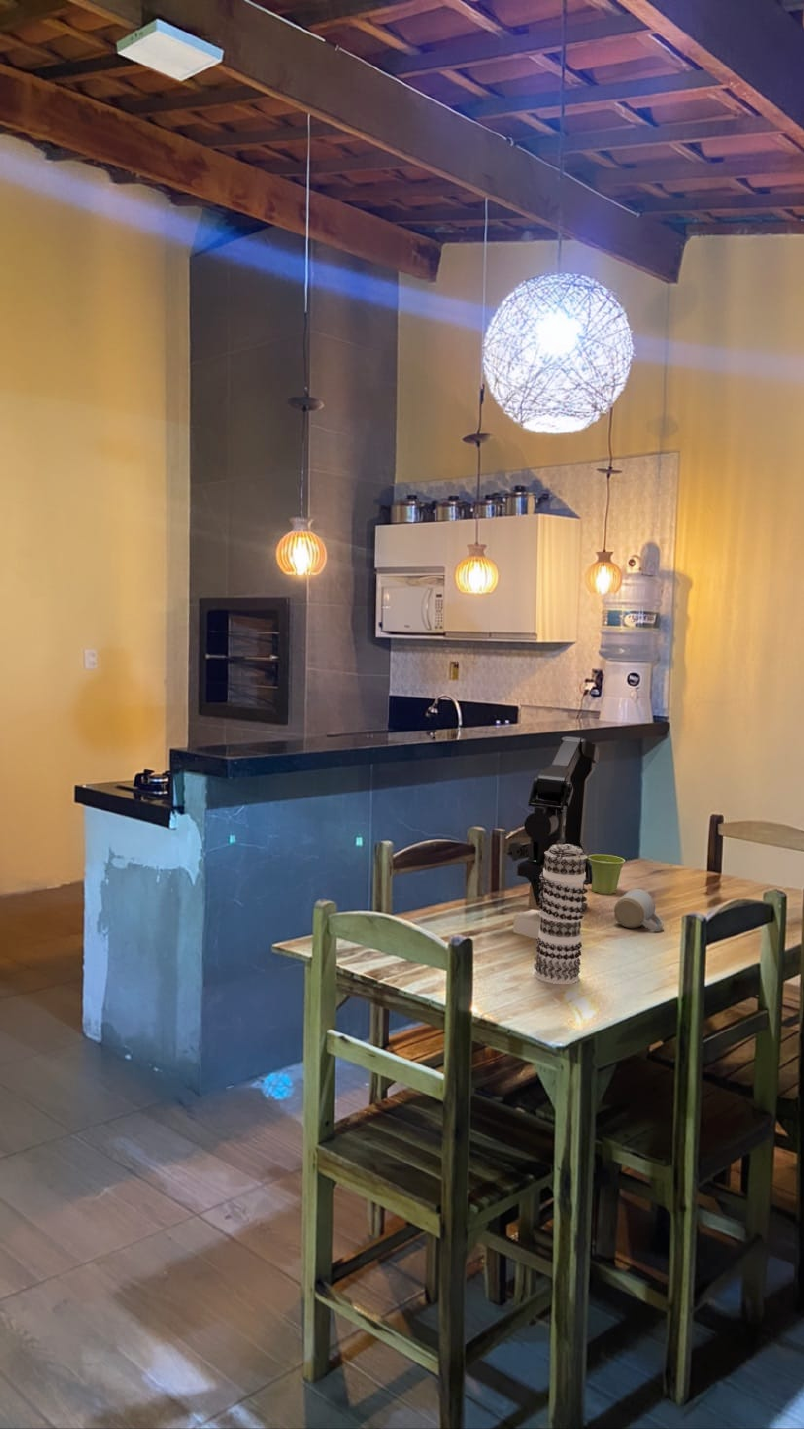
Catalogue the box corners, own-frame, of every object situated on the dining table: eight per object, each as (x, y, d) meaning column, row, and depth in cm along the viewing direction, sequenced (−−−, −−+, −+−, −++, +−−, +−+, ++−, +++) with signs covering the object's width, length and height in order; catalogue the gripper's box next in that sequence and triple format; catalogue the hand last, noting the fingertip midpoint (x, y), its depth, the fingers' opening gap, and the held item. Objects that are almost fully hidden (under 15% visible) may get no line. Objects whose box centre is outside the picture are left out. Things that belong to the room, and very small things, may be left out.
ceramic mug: (610, 925, 230) (613, 892, 230) (621, 918, 237) (624, 885, 237) (657, 935, 225) (660, 902, 224) (667, 927, 232) (670, 894, 231)
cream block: (535, 925, 228) (536, 908, 227) (570, 935, 222) (571, 917, 222) (512, 933, 221) (514, 915, 220) (548, 943, 215) (550, 925, 215)
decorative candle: (543, 965, 199) (552, 839, 197) (588, 975, 194) (598, 846, 192) (524, 977, 191) (533, 846, 189) (570, 988, 186) (580, 854, 184)
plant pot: (625, 897, 257) (628, 863, 257) (588, 895, 257) (591, 861, 257) (618, 888, 267) (621, 855, 266) (582, 886, 267) (585, 853, 266)
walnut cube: (538, 903, 224) (539, 881, 224) (559, 908, 222) (560, 885, 221) (528, 908, 220) (530, 885, 220) (549, 912, 217) (551, 889, 217)
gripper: (532, 821, 232) (528, 888, 233) (496, 832, 216) (491, 904, 217) (579, 828, 226) (573, 898, 227) (544, 840, 210) (539, 915, 211)
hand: (544, 903), depth 221 cm, fingers closed on walnut cube, 5 cm apart
